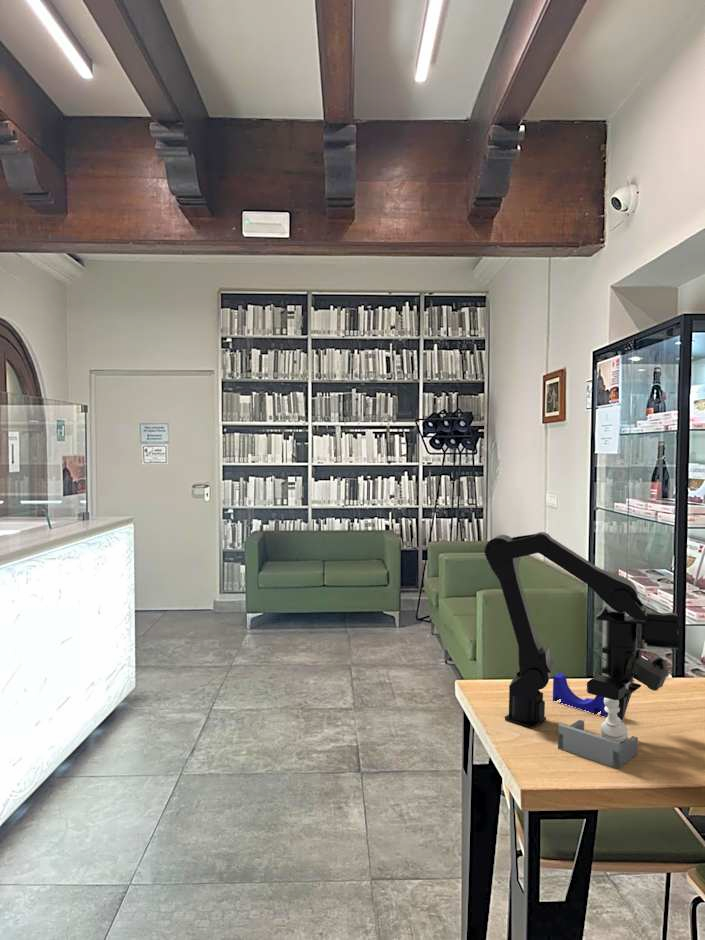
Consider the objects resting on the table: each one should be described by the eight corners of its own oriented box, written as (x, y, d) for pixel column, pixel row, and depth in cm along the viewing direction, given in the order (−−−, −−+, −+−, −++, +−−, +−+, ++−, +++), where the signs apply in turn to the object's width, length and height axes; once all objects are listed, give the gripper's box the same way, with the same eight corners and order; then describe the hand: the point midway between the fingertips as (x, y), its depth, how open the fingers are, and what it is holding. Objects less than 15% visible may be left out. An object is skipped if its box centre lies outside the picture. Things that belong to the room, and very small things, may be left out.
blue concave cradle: (612, 712, 148) (613, 685, 148) (603, 718, 145) (604, 690, 145) (562, 697, 157) (563, 671, 157) (552, 702, 154) (553, 676, 153)
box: (557, 748, 129) (558, 725, 129) (579, 734, 136) (579, 712, 136) (617, 768, 121) (618, 744, 121) (637, 753, 128) (638, 729, 128)
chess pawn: (595, 733, 136) (591, 695, 133) (614, 723, 138) (610, 684, 135) (614, 746, 131) (611, 707, 129) (633, 735, 133) (630, 696, 131)
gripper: (645, 663, 123) (643, 747, 123) (679, 641, 136) (677, 717, 137) (586, 650, 130) (584, 729, 131) (624, 630, 144) (622, 702, 145)
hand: (619, 719), depth 136 cm, fingers closed
